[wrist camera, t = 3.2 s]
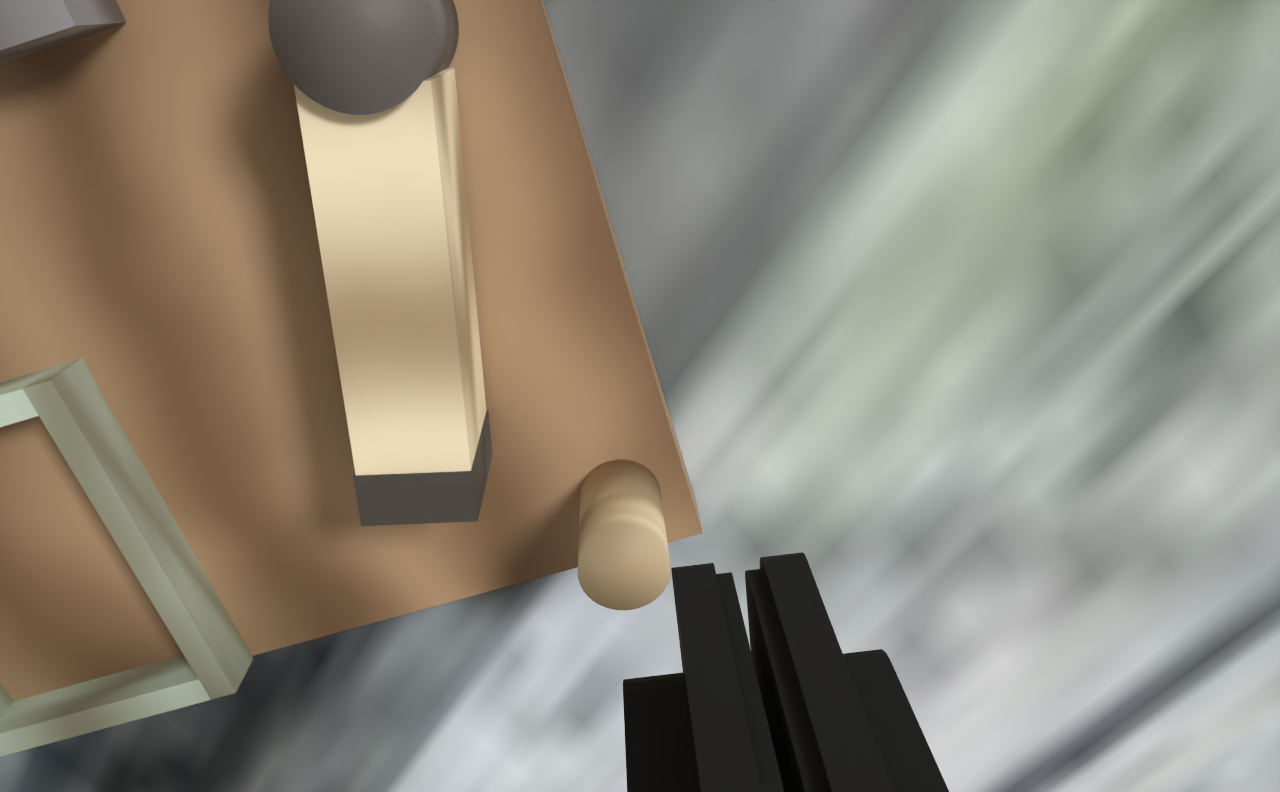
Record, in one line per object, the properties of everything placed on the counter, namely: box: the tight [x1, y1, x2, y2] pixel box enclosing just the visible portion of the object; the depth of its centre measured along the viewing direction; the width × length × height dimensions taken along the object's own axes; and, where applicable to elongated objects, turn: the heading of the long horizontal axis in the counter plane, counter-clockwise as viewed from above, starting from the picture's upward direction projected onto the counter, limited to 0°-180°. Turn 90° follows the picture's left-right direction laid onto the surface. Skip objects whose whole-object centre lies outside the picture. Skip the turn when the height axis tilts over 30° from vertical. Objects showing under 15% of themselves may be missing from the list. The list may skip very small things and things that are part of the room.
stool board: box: [0, 0, 702, 757], centre depth 25 cm, size 24×20×6 cm
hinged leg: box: [268, 0, 492, 526], centre depth 23 cm, size 13×3×4 cm, turn 1°
